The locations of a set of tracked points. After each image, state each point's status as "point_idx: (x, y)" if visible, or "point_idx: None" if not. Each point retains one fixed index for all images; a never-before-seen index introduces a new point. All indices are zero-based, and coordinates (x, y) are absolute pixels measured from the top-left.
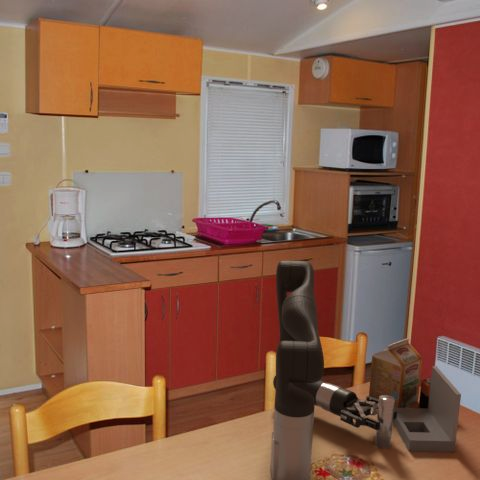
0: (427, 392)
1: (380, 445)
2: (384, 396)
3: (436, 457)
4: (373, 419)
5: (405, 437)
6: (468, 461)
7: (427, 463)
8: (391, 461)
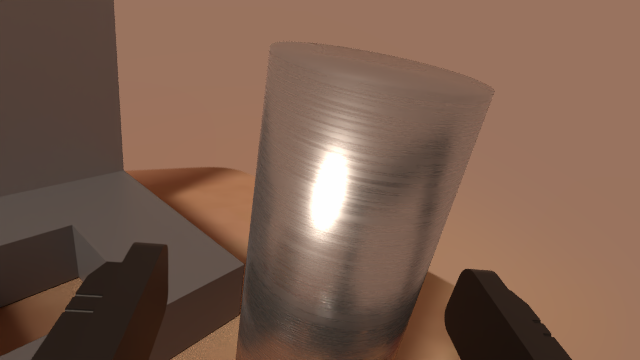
0: None
1: None
2: (357, 69)
3: (207, 233)
4: (509, 316)
5: (174, 322)
6: (163, 178)
7: None
8: None
